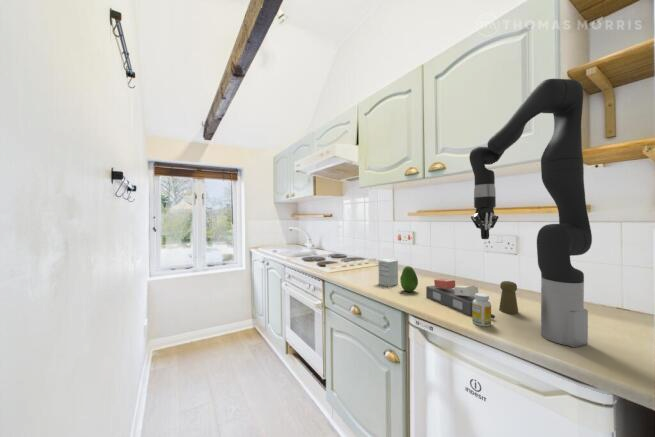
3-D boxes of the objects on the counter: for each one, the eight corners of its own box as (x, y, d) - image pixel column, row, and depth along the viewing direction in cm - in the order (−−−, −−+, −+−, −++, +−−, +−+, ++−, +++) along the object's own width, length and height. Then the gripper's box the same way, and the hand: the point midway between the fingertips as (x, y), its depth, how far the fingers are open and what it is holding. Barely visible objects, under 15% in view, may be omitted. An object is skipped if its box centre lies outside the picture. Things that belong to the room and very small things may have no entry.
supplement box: (386, 281, 144) (386, 258, 143) (398, 284, 138) (398, 260, 138) (378, 284, 139) (377, 259, 139) (389, 286, 133) (389, 261, 133)
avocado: (397, 291, 124) (397, 266, 124) (404, 288, 130) (404, 263, 130) (414, 295, 119) (414, 268, 119) (420, 291, 125) (420, 265, 125)
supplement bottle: (473, 325, 87) (473, 296, 86) (471, 319, 91) (471, 291, 91) (492, 328, 84) (492, 297, 84) (489, 321, 89) (489, 293, 89)
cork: (499, 312, 98) (499, 282, 97) (498, 307, 103) (498, 279, 103) (519, 315, 95) (520, 284, 95) (517, 309, 100) (517, 280, 100)
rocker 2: (479, 294, 98) (477, 286, 99) (469, 296, 97) (467, 287, 97) (464, 293, 105) (462, 285, 105) (454, 294, 103) (453, 286, 104)
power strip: (502, 318, 92) (502, 305, 92) (484, 322, 89) (484, 308, 89) (441, 295, 119) (441, 284, 119) (426, 296, 116) (426, 286, 116)
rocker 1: (455, 287, 109) (455, 280, 109) (446, 289, 107) (445, 281, 108) (443, 285, 115) (442, 278, 116) (434, 286, 114) (433, 279, 114)
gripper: (480, 195, 102) (481, 240, 102) (505, 195, 106) (505, 239, 106) (464, 196, 109) (465, 239, 109) (488, 197, 113) (488, 237, 113)
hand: (485, 239), depth 108 cm, fingers closed
